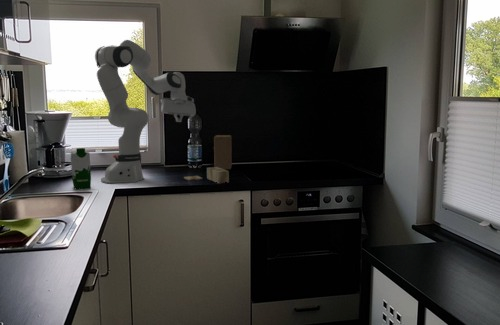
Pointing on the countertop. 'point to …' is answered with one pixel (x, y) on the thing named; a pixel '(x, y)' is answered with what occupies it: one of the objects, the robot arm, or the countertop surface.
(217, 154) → the wooden block
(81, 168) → the milk carton
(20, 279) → the countertop surface
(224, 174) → the tall oak block
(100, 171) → the countertop surface
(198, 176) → the cork trivet
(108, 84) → the robot arm
